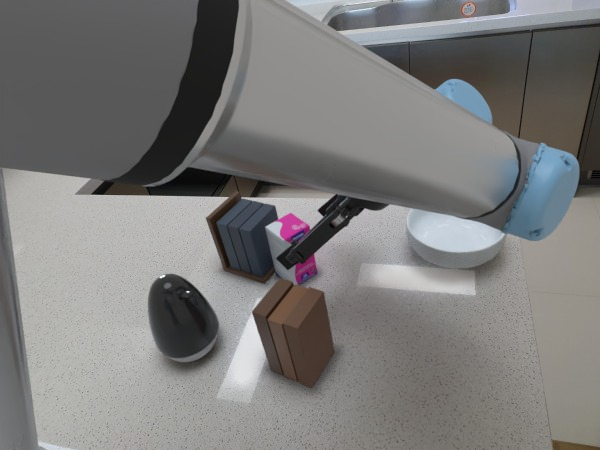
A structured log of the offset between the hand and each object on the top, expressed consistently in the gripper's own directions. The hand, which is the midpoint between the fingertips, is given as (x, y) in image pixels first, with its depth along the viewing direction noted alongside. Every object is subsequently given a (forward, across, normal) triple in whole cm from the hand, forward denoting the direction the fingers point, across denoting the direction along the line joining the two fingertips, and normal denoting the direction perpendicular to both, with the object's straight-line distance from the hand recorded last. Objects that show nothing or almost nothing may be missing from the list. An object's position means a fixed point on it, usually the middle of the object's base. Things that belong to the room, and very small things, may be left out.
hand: (304, 237), depth 77 cm
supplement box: (+10, 0, -5) cm, 11 cm away
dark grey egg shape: (+15, -21, 0) cm, 25 cm away
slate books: (+16, 0, +2) cm, 16 cm away
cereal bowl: (-8, +16, -22) cm, 28 cm away
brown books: (+2, -16, -12) cm, 20 cm away
